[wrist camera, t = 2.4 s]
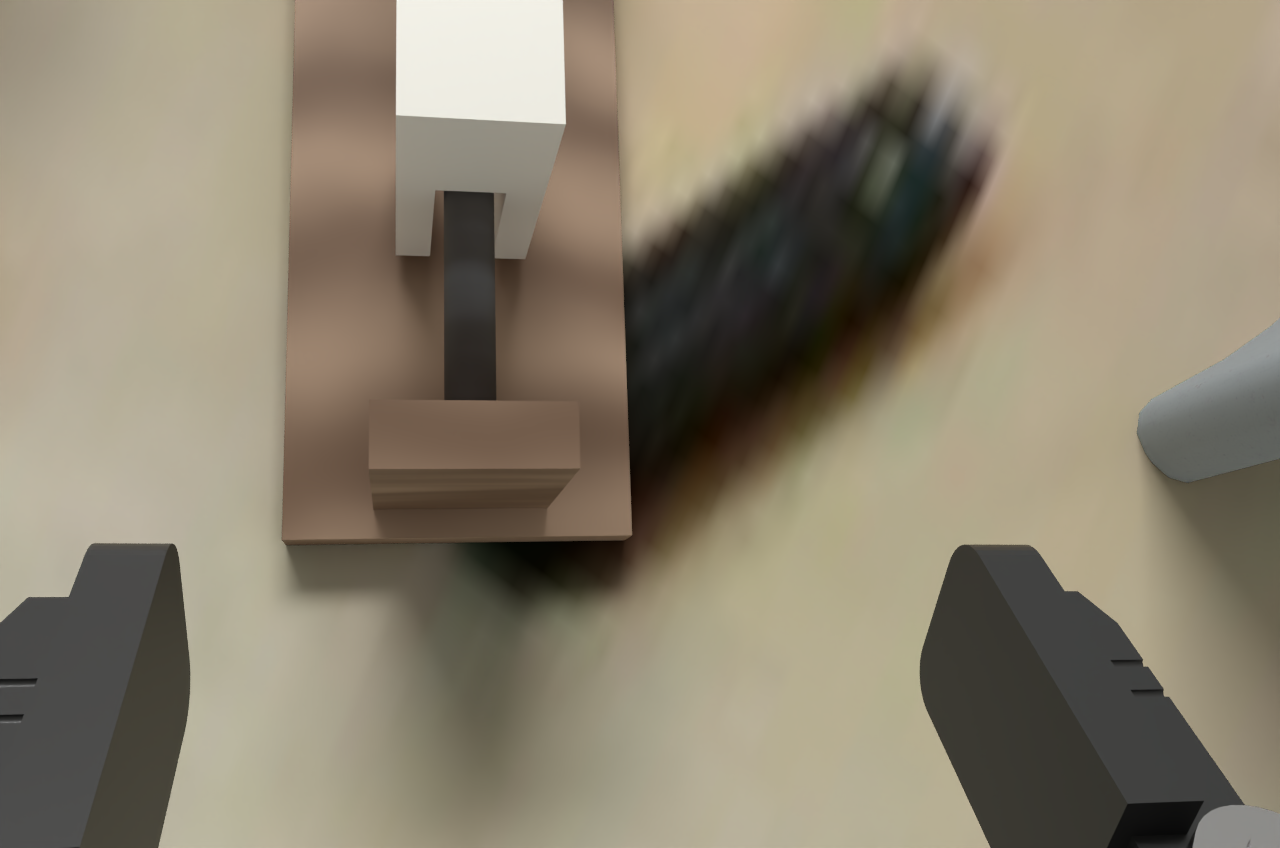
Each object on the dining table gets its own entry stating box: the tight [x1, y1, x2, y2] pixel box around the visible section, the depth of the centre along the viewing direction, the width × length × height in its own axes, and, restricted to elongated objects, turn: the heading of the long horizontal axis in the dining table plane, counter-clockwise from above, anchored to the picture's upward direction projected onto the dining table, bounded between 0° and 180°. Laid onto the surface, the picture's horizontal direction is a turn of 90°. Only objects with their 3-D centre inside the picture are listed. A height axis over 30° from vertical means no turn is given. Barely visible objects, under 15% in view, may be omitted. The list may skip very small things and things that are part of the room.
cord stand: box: [282, 0, 632, 545], centre depth 43 cm, size 32×12×10 cm, turn 2°
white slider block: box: [396, 0, 566, 259], centre depth 39 cm, size 4×5×11 cm
